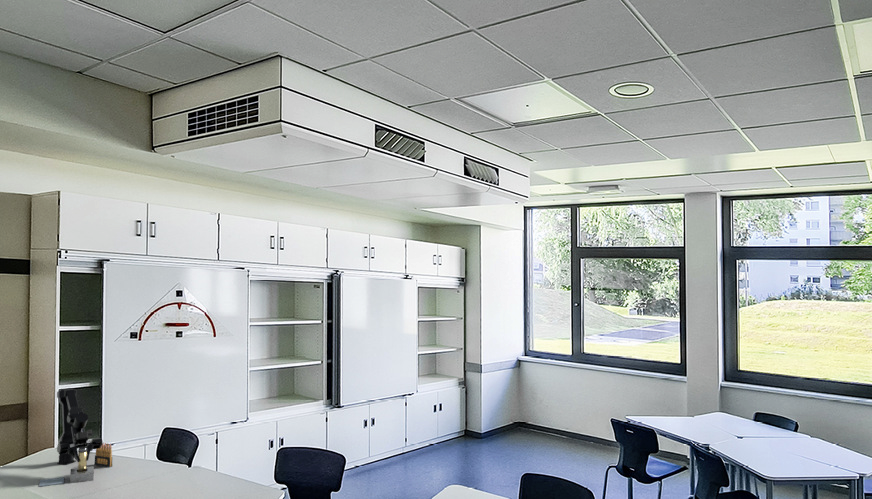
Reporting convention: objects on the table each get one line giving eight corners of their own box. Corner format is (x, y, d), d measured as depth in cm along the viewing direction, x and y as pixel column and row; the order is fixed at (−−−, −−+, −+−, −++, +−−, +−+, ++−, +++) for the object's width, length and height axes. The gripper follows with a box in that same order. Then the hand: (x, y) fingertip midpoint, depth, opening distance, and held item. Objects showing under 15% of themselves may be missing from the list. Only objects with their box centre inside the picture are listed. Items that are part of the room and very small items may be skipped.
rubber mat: (40, 480, 307) (40, 479, 307) (64, 477, 312) (64, 476, 312) (38, 486, 298) (39, 486, 298) (63, 483, 303) (63, 482, 303)
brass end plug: (82, 473, 314) (83, 446, 314) (88, 474, 312) (89, 447, 313) (75, 475, 310) (76, 448, 310) (81, 476, 309) (82, 449, 309)
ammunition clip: (112, 466, 331) (113, 443, 331) (109, 467, 329) (110, 444, 330) (97, 464, 335) (98, 441, 335) (94, 465, 333) (95, 442, 333)
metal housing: (70, 477, 313) (70, 468, 313) (93, 474, 318) (93, 466, 318) (69, 483, 304) (70, 474, 304) (93, 480, 309) (93, 471, 309)
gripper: (60, 427, 309) (64, 455, 300) (102, 422, 321) (107, 448, 312) (56, 440, 314) (60, 468, 306) (97, 434, 327) (102, 460, 318)
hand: (83, 460), depth 310 cm, fingers closed on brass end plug, 4 cm apart
